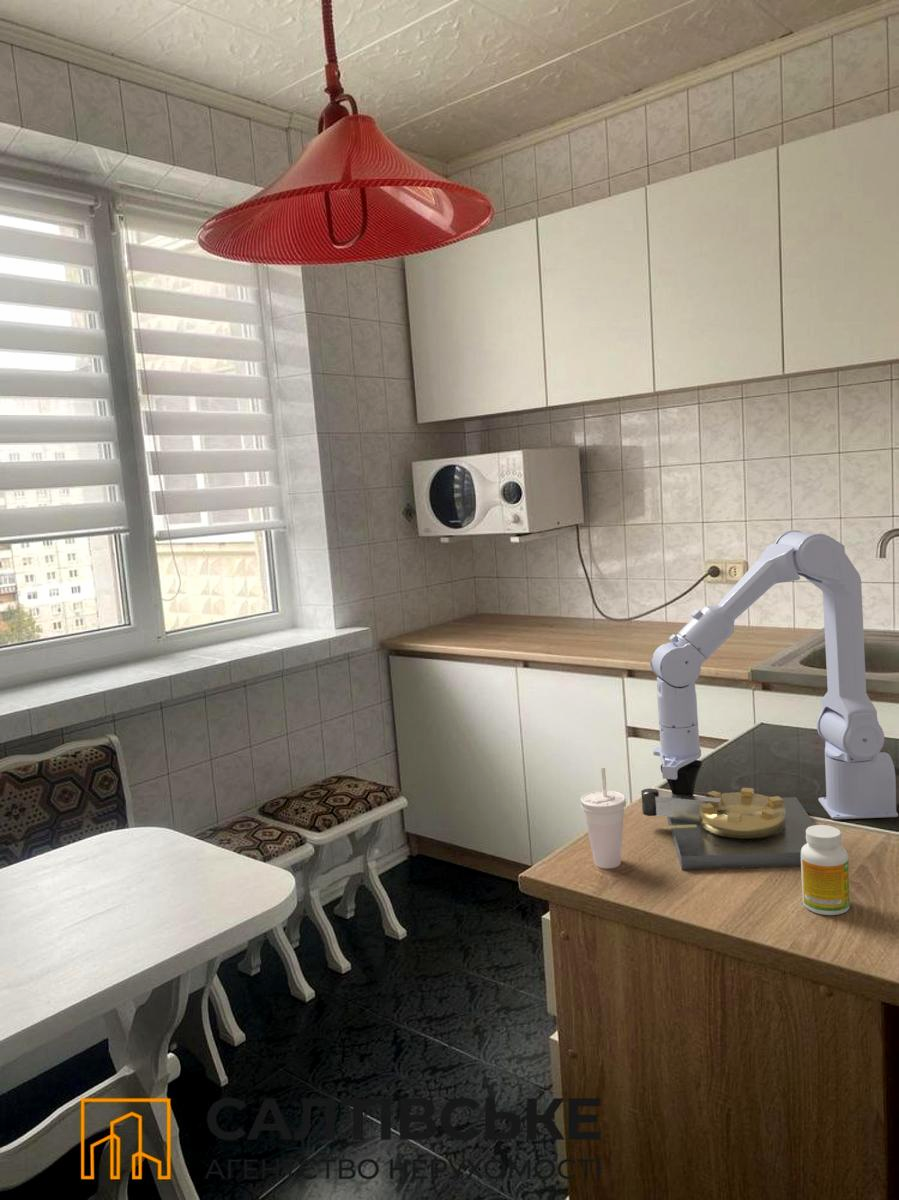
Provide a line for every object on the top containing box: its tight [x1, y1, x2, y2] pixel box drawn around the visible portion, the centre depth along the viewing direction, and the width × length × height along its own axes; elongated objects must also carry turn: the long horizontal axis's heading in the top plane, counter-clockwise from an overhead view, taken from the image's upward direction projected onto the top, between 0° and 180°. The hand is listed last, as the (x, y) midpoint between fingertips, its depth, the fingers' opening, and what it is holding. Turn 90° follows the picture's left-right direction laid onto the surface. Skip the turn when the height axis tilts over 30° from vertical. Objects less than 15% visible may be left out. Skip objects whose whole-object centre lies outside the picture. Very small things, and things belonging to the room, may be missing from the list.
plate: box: [661, 796, 816, 871], centre depth 132 cm, size 22×20×2 cm
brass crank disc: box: [640, 787, 786, 838], centre depth 134 cm, size 21×12×3 cm, turn 62°
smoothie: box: [580, 766, 627, 870], centre depth 127 cm, size 6×6×14 cm
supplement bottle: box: [800, 824, 851, 916], centre depth 110 cm, size 5×5×10 cm
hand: (683, 808), depth 137 cm, fingers closed
